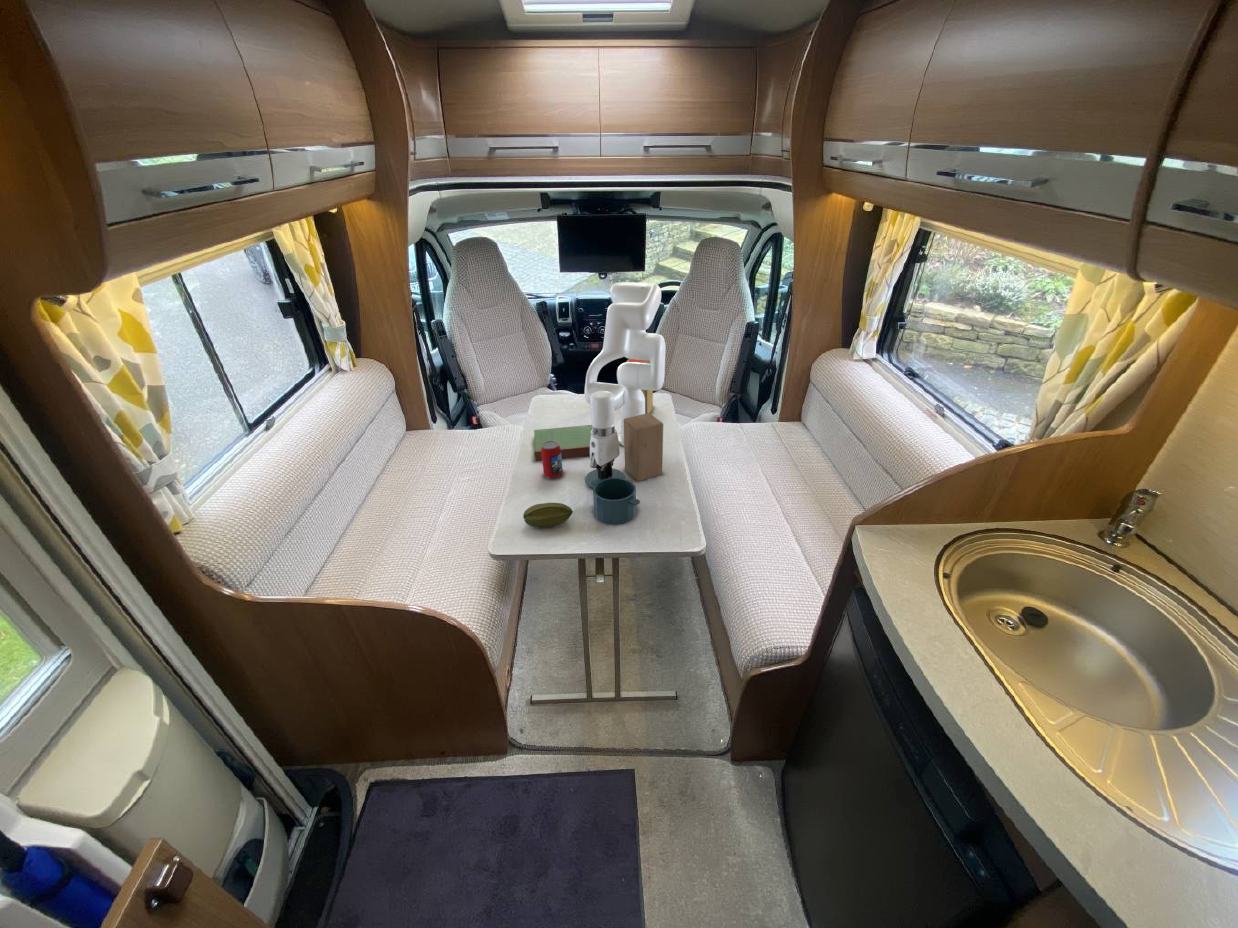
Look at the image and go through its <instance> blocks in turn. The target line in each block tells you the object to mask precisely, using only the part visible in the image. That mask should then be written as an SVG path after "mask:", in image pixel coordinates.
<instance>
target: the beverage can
mask: <svg viewBox="0 0 1238 928" xmlns="http://www.w3.org/2000/svg"><path fill="white" fill-rule="evenodd" d="M541 454H542V460H541V461H542V463H541V464H542V470H543V475H544V476H545V477H546V478H549V479H557V478H558V477H561V476H562V475H563V472H564V469H563V458H562V457H561V448H560V446H559V445H558V443H557V442H555V441H548V442H545V443H543V446H542V448H541Z"/></svg>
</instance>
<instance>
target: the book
mask: <svg viewBox="0 0 1238 928" xmlns="http://www.w3.org/2000/svg"><path fill="white" fill-rule="evenodd" d="M591 431H592V426H591V424H586V425H575V426H562V427H551V428H542V429H541V428H540V429H534V430H533V439H534V441H533V442H534V444H533V445H534V446H533V447H534V458H535V462H538V461H539V462H541V461H542V454H541V448H542V446H543V443H545V442H548V441H555V442H557V443H558V445H559V446H560V448H561V457H562V459H570V458H571V459H572V458H581V457H590V439H591V433H590V432H591Z"/></svg>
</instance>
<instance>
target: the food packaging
mask: <svg viewBox="0 0 1238 928" xmlns="http://www.w3.org/2000/svg"><path fill="white" fill-rule="evenodd" d="M626 362H636V363H645V364H651V362H650V361H648V360H637V359H629V358H627V360H626ZM641 391H642V392H643V394H644V397H645V414H646V413H649V414H651V412H652V411H653V409H654V391H652V390H642V389H641Z"/></svg>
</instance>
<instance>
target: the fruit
mask: <svg viewBox="0 0 1238 928" xmlns="http://www.w3.org/2000/svg"><path fill="white" fill-rule="evenodd" d="M573 513H574V510H573V509H572V508H571V507H570V506H569V505H567V504H565V503H562V502H544V503H542V502H541V503H537V504H533V505H531V506H530V507H528V508H527V509H526V510H525V511H524V512H523V515H522V518H523V519H524V523H525V524H526V525H528V526H530V527H532V528H538V529H539V528H541V529H542V528H552V527H555V526H558V525H561V524H563V523H565V522H566V521H568V519H570V518H571V516H572V514H573Z"/></svg>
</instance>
